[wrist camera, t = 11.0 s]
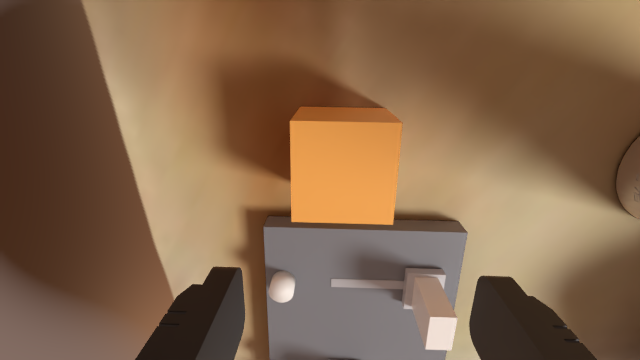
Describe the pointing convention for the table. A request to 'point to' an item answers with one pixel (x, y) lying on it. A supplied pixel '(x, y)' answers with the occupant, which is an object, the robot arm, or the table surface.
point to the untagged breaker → (430, 307)
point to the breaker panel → (352, 286)
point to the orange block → (344, 165)
